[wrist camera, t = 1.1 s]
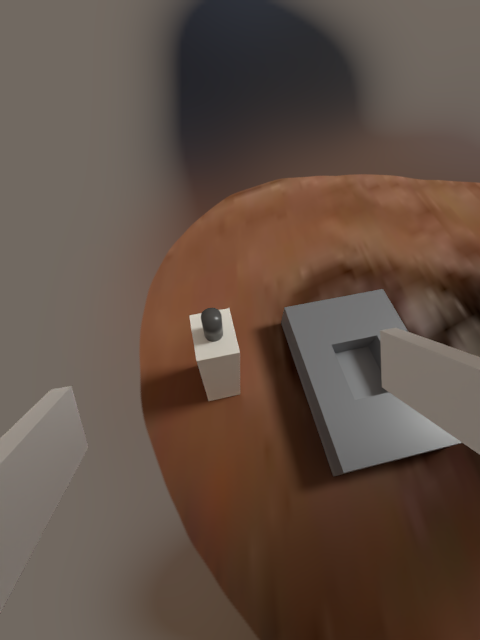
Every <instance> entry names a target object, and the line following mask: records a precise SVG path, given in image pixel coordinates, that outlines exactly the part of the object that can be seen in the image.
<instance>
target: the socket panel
mask: <svg viewBox="0 0 480 640" xmlns="http://www.w3.org/2000/svg"><path fill="white" fill-rule="evenodd" d="M281 324H282V327H283V330H284V333H285V336H286V339H287V342H288V345H289V348H290V351H291V354H292V357H293V360H294V363H295V365H296V368H297V371H298V374H299V377H300V380H301V383H302V386H303V389H304V392H305V395H306V398H307V401H308V404H309V407H310V410H311V412H312V415H313V418H314V421H315V424H316V427H317V430H318V433H319V436H320V439H321V442H322V445H323V448H324V451H325V454H326V456H327V459H328V462H329V465H330V468H331V471H332V474H333V476H337V475H341V474H345V473H349V472H353V471H357V470H361V469H365V468H369V467H372V466H376V465H380V464H384V463H388V462H392V461H396V460H400V459H404V458H408V457H411V456H415V455H419V454H423V453H427V452H431V451H435V450H439V449H443V448H447V447H450V446H454V445H457V444H460V443H462V442H461V441H459V440H458V439H456V438H455V437H453V436H452V435H451V434H449V433H448V432H446V431H445V430H443V429H442V428H440V427H439V426H437V425H436V424H435V423H433V422H432V421H430V420H429V419H427V418H426V417H424V416H423V415H421V414H420V413H419V412H417V411H416V410H414V409H413V408H411V407H410V406H408V405H407V404H405V403H404V402H403V401H401V400H400V399H398V398H397V397H395V396H394V395H392V394H391V393H389V392H388V391H387V390H385V389H384V388H382V380H381V345H380V330H386V329H391V328H398V329H401V330H404V331H407V329H406V328H405V326H404V324H403V323H402V321H401V319H400V317H399V316H398V314H397V312H396V311H395V309H394V307H393V305H392V304H391V302H390V300H389V299H388V297H387V295H386V293H385V292H384V290H383V289H381V290H375V291H370V292H365V293H359V294H354V295H349V296H343V297H338V298H333V299H327V300H322V301H317V302H311V303H306V304H301V305H295V306H290V307H285V308H284V312H283V317H282V321H281ZM407 332H408V331H407Z"/></svg>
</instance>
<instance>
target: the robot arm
mask: <svg viewBox="0 0 480 640" xmlns="http://www.w3.org/2000/svg"><path fill="white" fill-rule="evenodd" d="M380 345H381V380H382V388H384V389H385V390H387V391H388V392H389V393H391V394H392V395H394V396H395V397H397V398H398V399H400V400H401V401H403V402H404V403H405V404H407V405H408V406H410V407H411V408H413V409H414V410H416V411H417V412H419V413H420V414H421V415H423V416H424V417H426V418H427V419H429V420H430V421H432V422H433V423H435V424H436V425H437V426H439V427H440V428H442V429H443V430H445V431H446V432H448V433H449V434H451V435H452V436H453V437H455V438H456V439H458V440H459V441H461V442H462V443H464V444H465V445H467V446H468V447H469V448H471V449H472V450H474V451H475V452H477V453H478V454H480V357H478V356H475V355H472V354H469V353H467V352H464V351H461V350H458V349H455V348H452V347H449V346H447V345H444V344H441V343H438V342H435V341H432V340H430V339H427V338H424V337H421V336H418V335H415V334H412V333H410V332H407V331H404V330H401V329H398V328H391V329H386V330H380ZM87 449H88V444H87V440H86V437H85V433H84V429H83V426H82V422H81V419H80V415H79V411H78V408H77V404H76V401H75V397H74V393H73V390H72V386H69V387H63V388H57V389H52V390H50V391H49V392H48V393H47V394H46V395H45V396H44V397H43V398H42V399H41V400H40V401H39V402H37V403H36V404H35V405H34V406H33V407H32V408H31V409H30V410H29V411H28V412H27V413H26V414H25V415H24V416H23V417H22V418H21V419H20V420H19V421H18V422H17V423H16V424H15V425H14V426H13V427H12V428H10V430H8V431H7V432H6V433H5V434H4V435H3V436H2V437H1V438H0V613H1V611H2V609H3V607H4V605H5V604H6V602H7V600H8V598H9V596H10V594H11V592H12V590H13V589H14V587H15V585H16V583H17V581H18V579H19V577H20V575H21V573H22V571H23V569H24V568H25V566H26V564H27V562H28V560H29V558H30V556H31V554H32V553H33V551H34V549H35V547H36V545H37V543H38V541H39V540H40V538H41V536H42V534H43V532H44V530H45V528H46V526H47V525H48V523H49V521H50V519H51V517H52V515H53V513H54V511H55V509H56V508H57V506H58V504H59V501H60V500H61V498H62V496H63V494H64V492H65V491H66V488H67V487H68V485H69V483H70V481H71V479H72V477H73V475H74V473H75V472H76V470H77V468H78V466H79V464H80V462H81V460H82V459H83V457H84V455H85V453H86V451H87Z"/></svg>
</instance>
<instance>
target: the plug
mask: <svg viewBox="0 0 480 640" xmlns="http://www.w3.org/2000/svg"><path fill="white" fill-rule="evenodd" d="M190 323H191V329H192V335H193V342H194V348H195V354H196V361H197V364H198V368H199V371H200V374H201V378H202V381H203V384H204V388H205V391H206V394H207V398H208V401H212V400H216V399H221V398H226V397H230V396H235V395H239V394H240V351H239V347H238V343H237V338H236V334H235V330H234V326H233V322H232V318H231V314H230V310H229V308H228V309H222V310H218V309H215V308H208V309H206V310H204V311H203V312H202V313H201V314H195V315H190Z"/></svg>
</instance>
